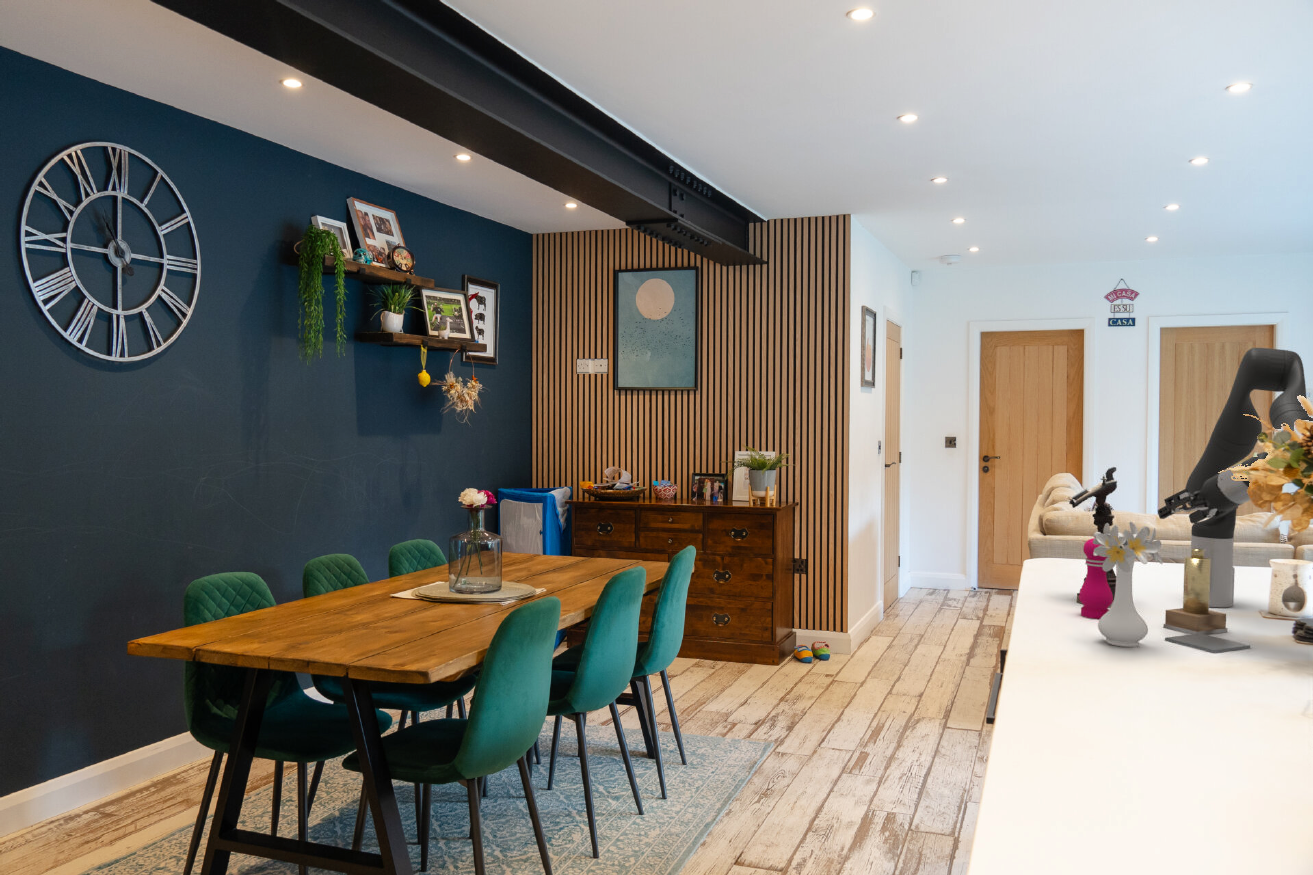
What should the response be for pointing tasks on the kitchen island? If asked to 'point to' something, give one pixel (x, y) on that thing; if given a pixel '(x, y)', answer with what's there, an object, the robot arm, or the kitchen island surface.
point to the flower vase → (1124, 581)
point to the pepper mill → (1095, 584)
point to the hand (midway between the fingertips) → (1175, 517)
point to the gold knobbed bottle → (1196, 583)
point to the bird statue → (1100, 514)
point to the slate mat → (1207, 643)
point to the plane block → (1195, 622)
